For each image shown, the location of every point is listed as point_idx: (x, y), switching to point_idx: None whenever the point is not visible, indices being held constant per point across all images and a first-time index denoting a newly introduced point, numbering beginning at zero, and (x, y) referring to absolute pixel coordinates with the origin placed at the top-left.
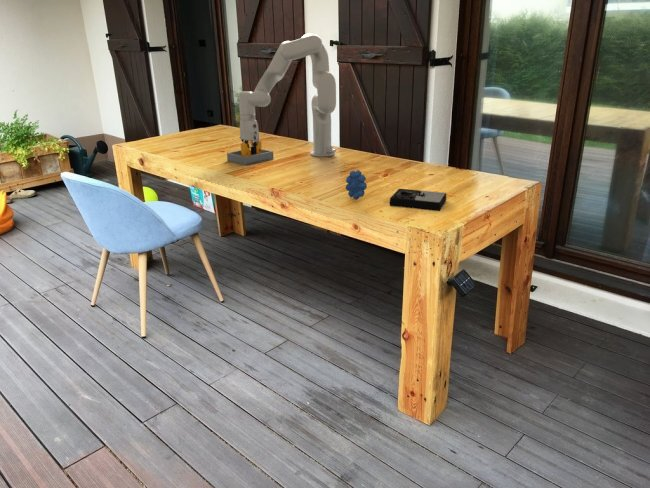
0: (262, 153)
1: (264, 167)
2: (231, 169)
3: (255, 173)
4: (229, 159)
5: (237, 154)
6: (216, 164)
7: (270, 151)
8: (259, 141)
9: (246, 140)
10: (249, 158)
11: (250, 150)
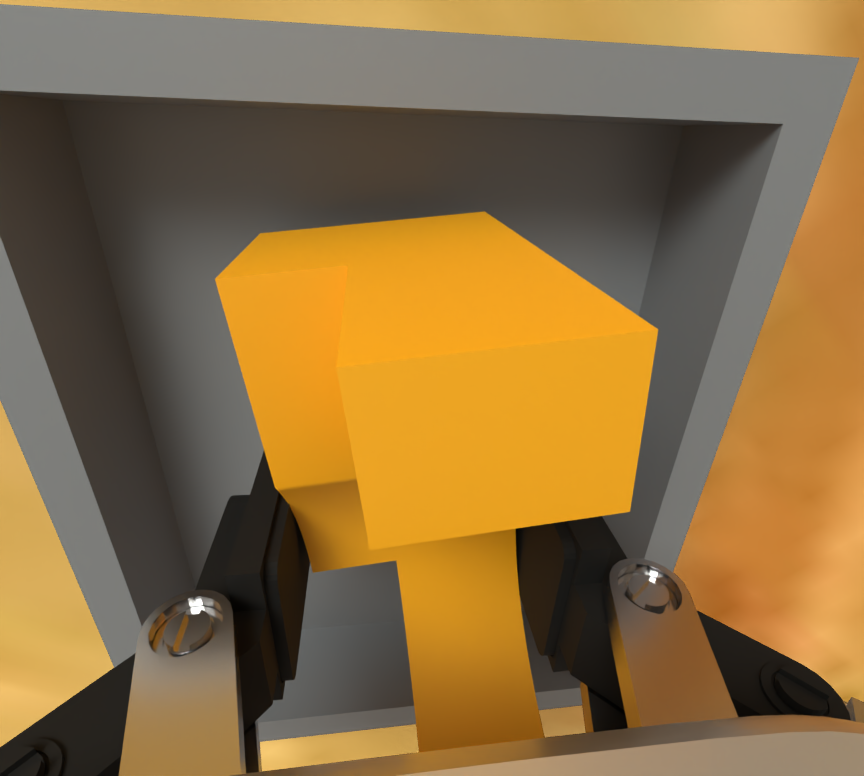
0: (715, 411)
1: (826, 516)
2: (556, 726)
3: (840, 662)
4: None
5: (161, 568)
6: (268, 746)
7: (792, 132)
8: (617, 421)
9: (136, 763)
10: None
11: (518, 598)
